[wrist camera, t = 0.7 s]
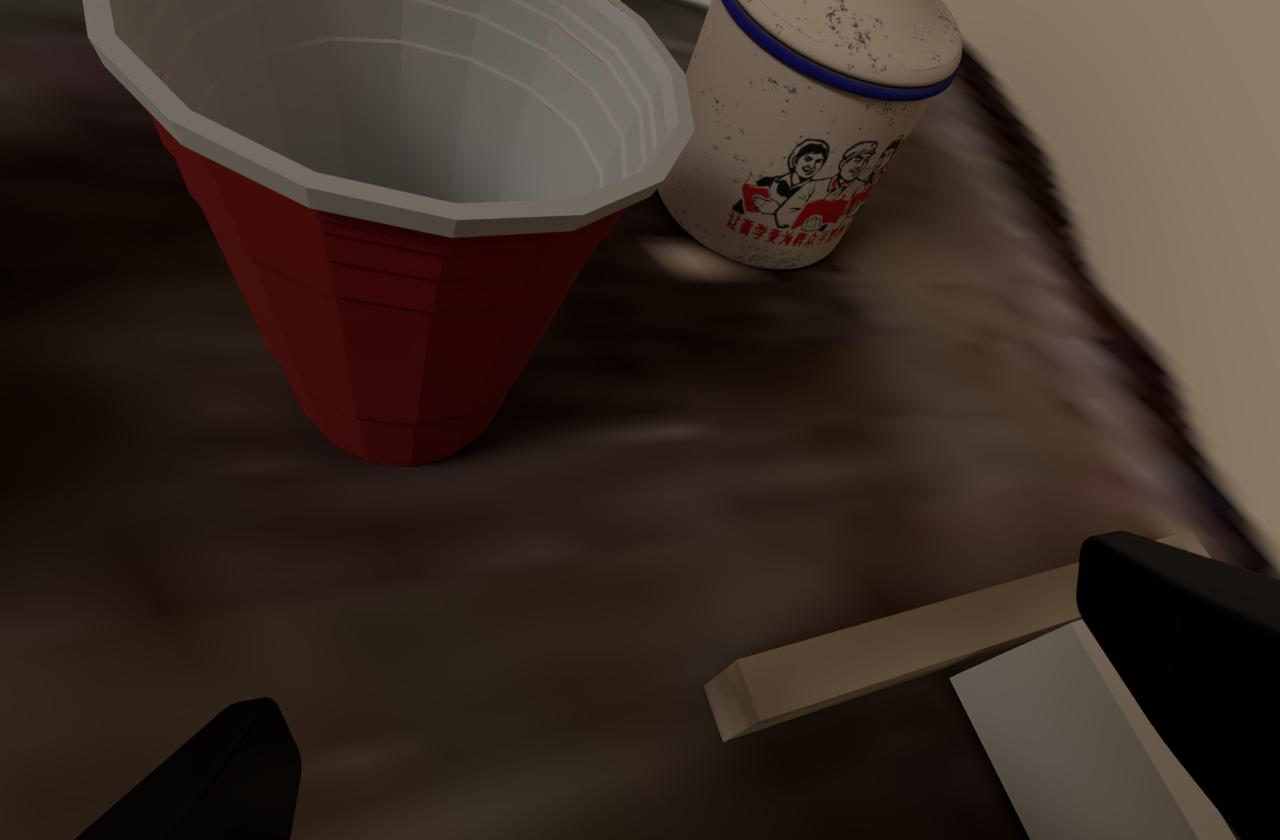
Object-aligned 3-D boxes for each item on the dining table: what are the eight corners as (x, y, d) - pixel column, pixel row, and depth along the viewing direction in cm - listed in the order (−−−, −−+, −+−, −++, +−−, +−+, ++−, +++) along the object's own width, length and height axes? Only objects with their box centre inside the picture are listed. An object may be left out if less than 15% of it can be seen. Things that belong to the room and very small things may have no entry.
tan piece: (1381, 935, 22) (1479, 935, 20) (910, 1277, 15) (989, 1329, 13) (1133, 559, 28) (1191, 529, 26) (703, 686, 21) (737, 659, 19)
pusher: (1193, 964, 20) (1395, 972, 16) (1117, 1013, 19) (1314, 1034, 15) (1021, 653, 24) (1149, 597, 20) (949, 677, 23) (1069, 623, 19)
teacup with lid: (713, 296, 29) (866, 1, 20) (610, 140, 33) (700, -173, 24) (925, 249, 35) (1123, -1, 26) (817, 119, 38) (956, -141, 29)
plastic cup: (641, 377, 26) (790, 56, 17) (429, 624, 20) (474, 332, 10) (393, 207, 27) (399, -185, 18) (116, 389, 21) (-106, -72, 11)
